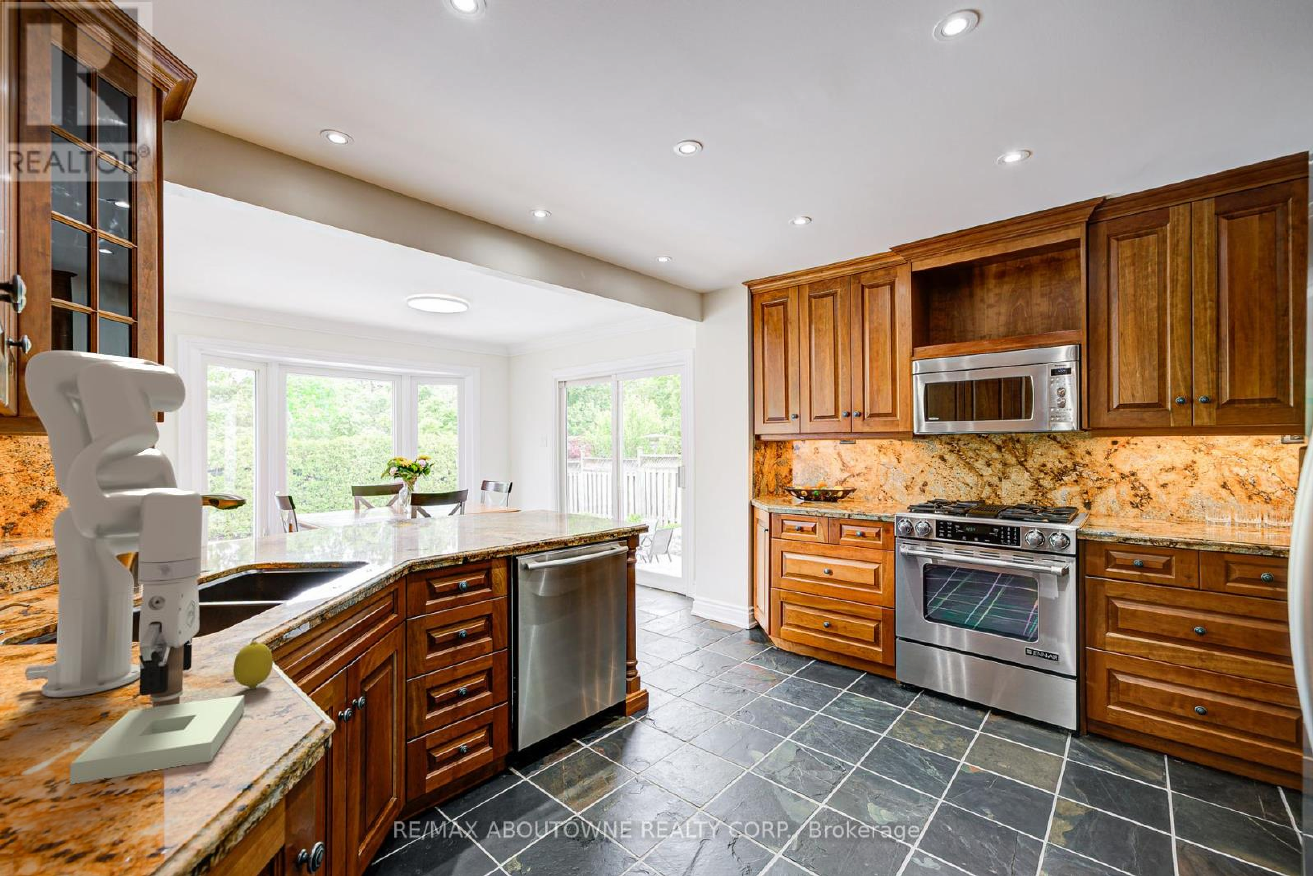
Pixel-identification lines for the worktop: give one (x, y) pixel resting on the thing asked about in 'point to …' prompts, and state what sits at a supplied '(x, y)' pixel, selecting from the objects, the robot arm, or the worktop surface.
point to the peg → (171, 679)
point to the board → (159, 739)
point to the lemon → (253, 664)
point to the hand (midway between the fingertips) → (166, 681)
